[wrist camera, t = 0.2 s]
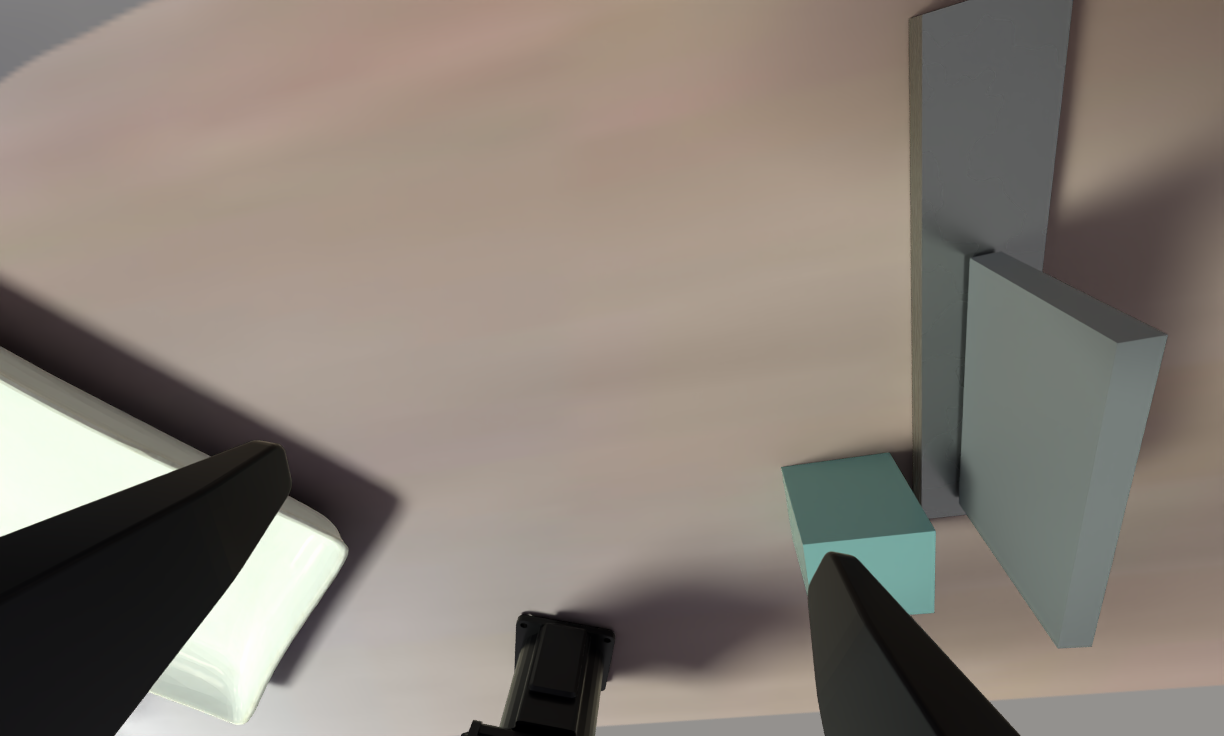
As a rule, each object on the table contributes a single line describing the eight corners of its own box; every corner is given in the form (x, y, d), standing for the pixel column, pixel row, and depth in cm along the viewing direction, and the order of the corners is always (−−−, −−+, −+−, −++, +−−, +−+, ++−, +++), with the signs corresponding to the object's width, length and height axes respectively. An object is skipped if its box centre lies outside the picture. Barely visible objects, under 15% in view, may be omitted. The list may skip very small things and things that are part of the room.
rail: (1003, 494, 24) (1015, 509, 23) (913, 504, 25) (921, 519, 24) (1054, -27, 15) (1076, -34, 14) (908, 18, 16) (922, 15, 15)
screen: (982, 500, 23) (1091, 646, 17) (958, 503, 23) (1057, 648, 17) (1001, 251, 18) (1168, 334, 12) (969, 258, 18) (1117, 342, 12)
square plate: (-116, 233, 25) (-240, 256, 21) (387, 502, 30) (350, 554, 27) (-79, 532, 37) (-154, 576, 34) (273, 685, 42) (238, 737, 39)
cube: (894, 525, 26) (938, 612, 22) (792, 536, 27) (814, 621, 23) (892, 450, 24) (940, 530, 20) (780, 466, 25) (802, 544, 21)
